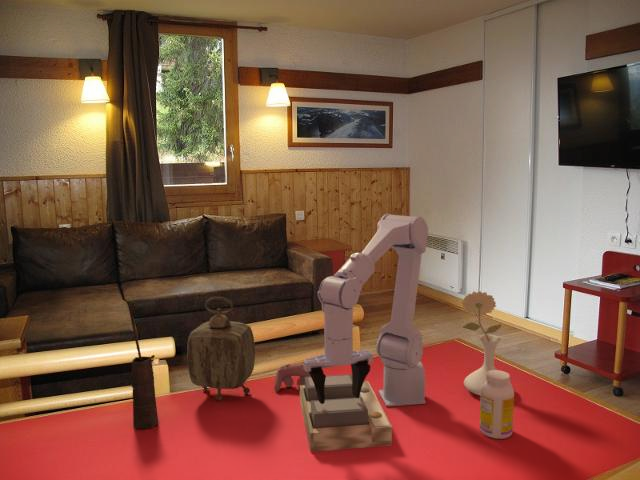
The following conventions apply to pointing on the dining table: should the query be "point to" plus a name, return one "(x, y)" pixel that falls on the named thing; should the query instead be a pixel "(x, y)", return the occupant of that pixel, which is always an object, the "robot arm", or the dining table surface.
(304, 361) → the robot arm
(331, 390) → the key grey
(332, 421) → the brown block
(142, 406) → the butter churn
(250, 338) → the tabletop clock
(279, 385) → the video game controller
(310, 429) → the switch panel
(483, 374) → the flower in vase
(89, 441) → the dining table surface
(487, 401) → the supplement bottle
